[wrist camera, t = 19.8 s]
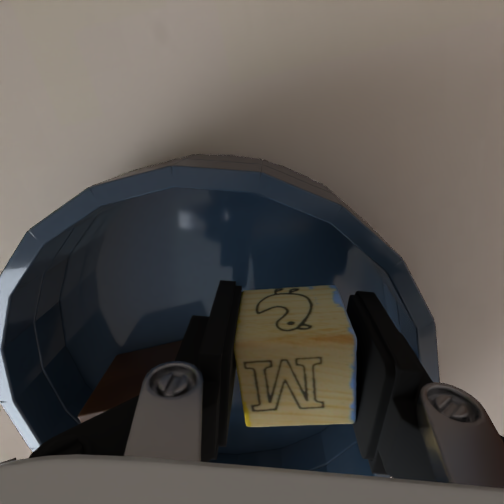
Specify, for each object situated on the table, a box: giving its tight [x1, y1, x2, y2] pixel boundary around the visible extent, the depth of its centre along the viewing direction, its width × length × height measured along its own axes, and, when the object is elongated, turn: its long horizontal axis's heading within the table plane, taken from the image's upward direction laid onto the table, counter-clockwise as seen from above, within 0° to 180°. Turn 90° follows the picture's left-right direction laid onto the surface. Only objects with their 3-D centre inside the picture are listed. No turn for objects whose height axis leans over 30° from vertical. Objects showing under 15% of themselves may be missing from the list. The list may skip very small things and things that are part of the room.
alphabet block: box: [234, 285, 357, 427], centre depth 10 cm, size 3×3×3 cm
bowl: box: [0, 154, 440, 478], centre depth 14 cm, size 15×15×4 cm
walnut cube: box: [78, 340, 182, 423], centre depth 14 cm, size 4×4×4 cm
